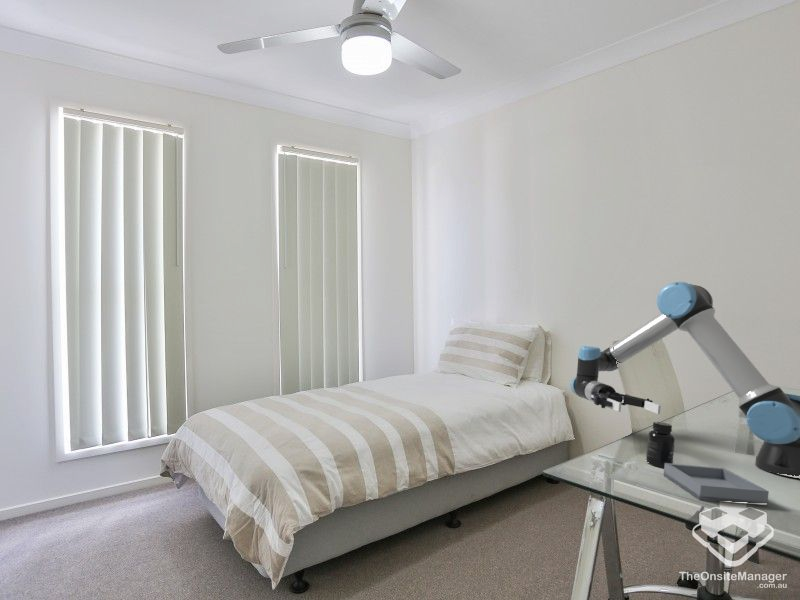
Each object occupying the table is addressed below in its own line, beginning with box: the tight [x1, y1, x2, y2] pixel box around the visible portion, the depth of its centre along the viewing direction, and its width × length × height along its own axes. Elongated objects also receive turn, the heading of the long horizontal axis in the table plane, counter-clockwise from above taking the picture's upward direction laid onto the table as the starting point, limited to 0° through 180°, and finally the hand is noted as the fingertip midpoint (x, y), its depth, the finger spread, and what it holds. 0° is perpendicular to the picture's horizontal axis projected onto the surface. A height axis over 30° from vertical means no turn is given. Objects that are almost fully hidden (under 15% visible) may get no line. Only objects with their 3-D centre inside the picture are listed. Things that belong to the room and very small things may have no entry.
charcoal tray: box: [663, 463, 769, 503], centre depth 123 cm, size 16×16×4 cm
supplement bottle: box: [645, 421, 676, 469], centre depth 141 cm, size 7×7×12 cm
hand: (639, 408), depth 151 cm, fingers open, 13 cm apart
